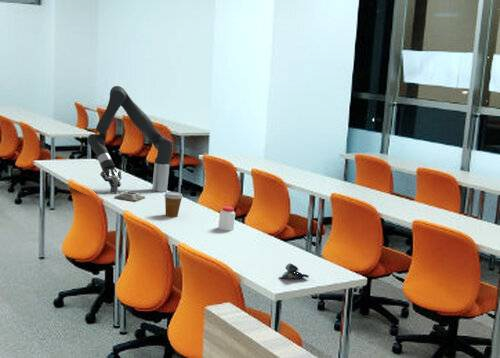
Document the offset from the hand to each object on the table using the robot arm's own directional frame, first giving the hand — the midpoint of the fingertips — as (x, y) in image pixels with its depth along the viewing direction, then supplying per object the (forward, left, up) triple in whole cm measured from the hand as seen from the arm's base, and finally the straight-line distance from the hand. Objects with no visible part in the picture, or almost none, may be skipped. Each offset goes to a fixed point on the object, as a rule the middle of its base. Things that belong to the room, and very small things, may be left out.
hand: (116, 186), depth 380 cm
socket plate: (+7, +12, -4) cm, 14 cm away
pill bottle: (+39, +78, -5) cm, 88 cm away
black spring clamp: (+100, +123, -5) cm, 158 cm away
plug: (-1, -2, -4) cm, 4 cm away
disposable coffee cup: (+31, +46, -5) cm, 56 cm away
